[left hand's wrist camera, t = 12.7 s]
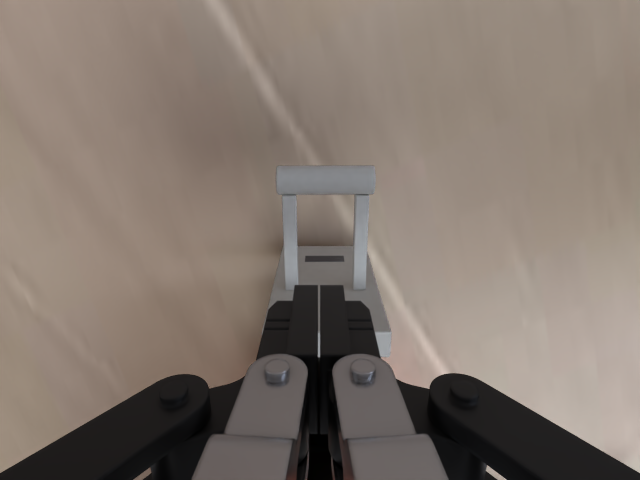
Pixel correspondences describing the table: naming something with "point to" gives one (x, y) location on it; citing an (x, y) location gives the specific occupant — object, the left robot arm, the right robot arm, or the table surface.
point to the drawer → (329, 265)
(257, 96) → the table surface
